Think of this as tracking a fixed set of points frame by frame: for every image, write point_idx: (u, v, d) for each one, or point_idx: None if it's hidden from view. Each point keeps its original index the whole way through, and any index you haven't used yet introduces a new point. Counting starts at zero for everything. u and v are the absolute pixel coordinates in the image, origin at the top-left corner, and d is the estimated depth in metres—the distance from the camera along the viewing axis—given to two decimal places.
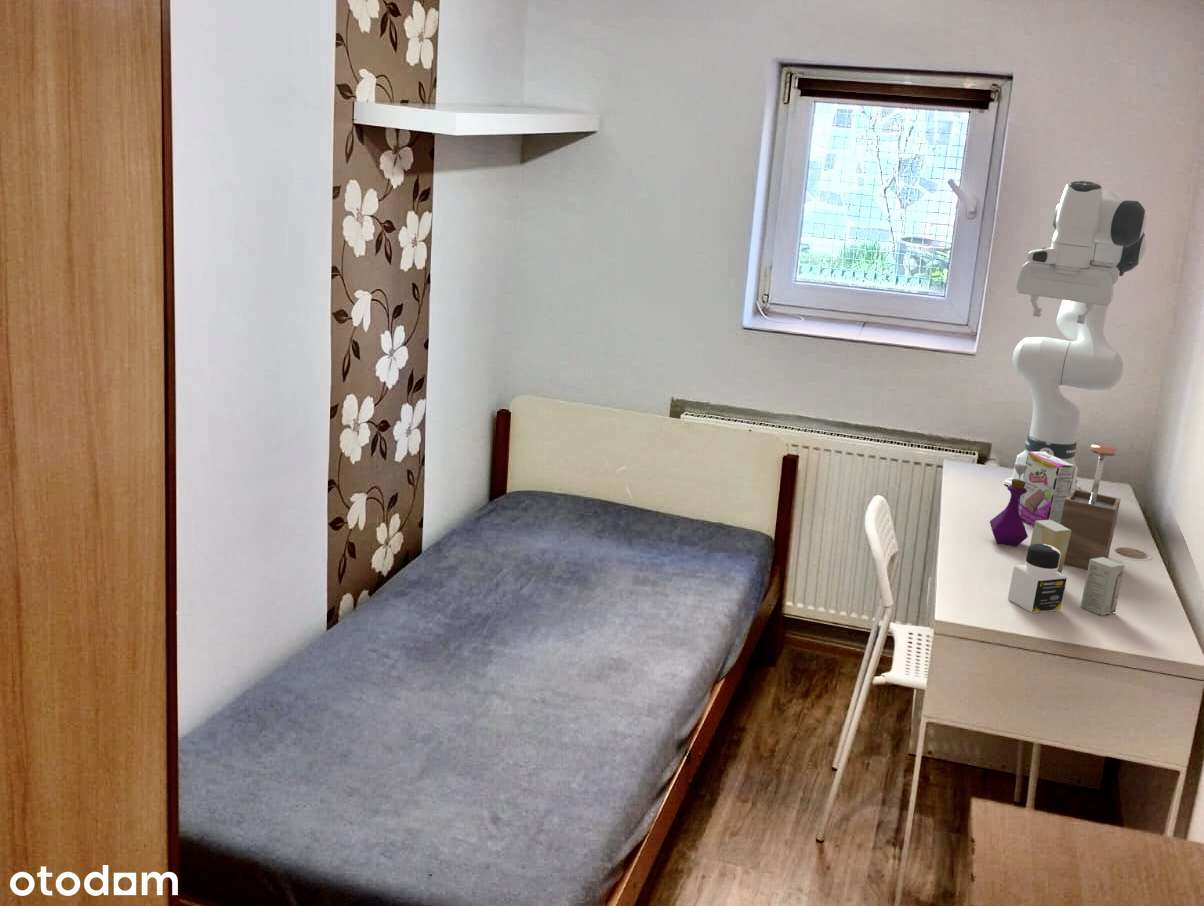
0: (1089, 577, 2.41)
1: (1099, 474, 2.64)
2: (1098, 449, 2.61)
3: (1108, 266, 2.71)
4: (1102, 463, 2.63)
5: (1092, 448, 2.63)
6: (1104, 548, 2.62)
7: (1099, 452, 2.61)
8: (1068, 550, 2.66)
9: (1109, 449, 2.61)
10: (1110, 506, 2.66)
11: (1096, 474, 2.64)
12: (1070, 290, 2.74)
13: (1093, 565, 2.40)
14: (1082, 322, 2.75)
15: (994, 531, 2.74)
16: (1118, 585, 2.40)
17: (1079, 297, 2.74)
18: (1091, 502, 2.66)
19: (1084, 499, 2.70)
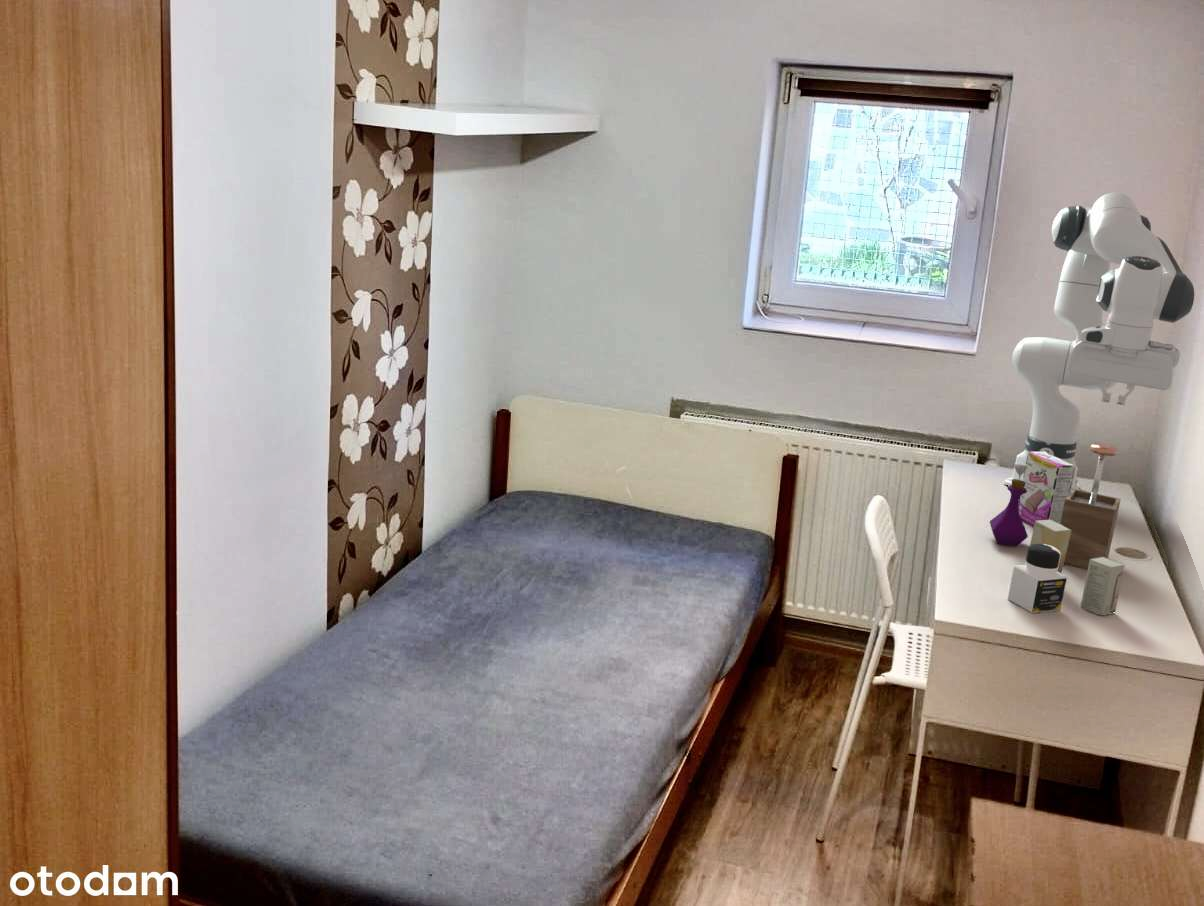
0: (1089, 577, 2.41)
1: (1099, 474, 2.64)
2: (1098, 449, 2.61)
3: (1168, 348, 2.53)
4: (1102, 463, 2.63)
5: (1092, 448, 2.63)
6: (1104, 548, 2.62)
7: (1099, 452, 2.61)
8: (1068, 550, 2.66)
9: (1109, 449, 2.61)
10: (1110, 506, 2.66)
11: (1096, 474, 2.64)
12: (1127, 372, 2.56)
13: (1093, 565, 2.40)
14: (1123, 403, 2.59)
15: (994, 531, 2.74)
16: (1118, 585, 2.40)
17: (1136, 380, 2.56)
18: (1091, 502, 2.66)
19: (1084, 499, 2.70)
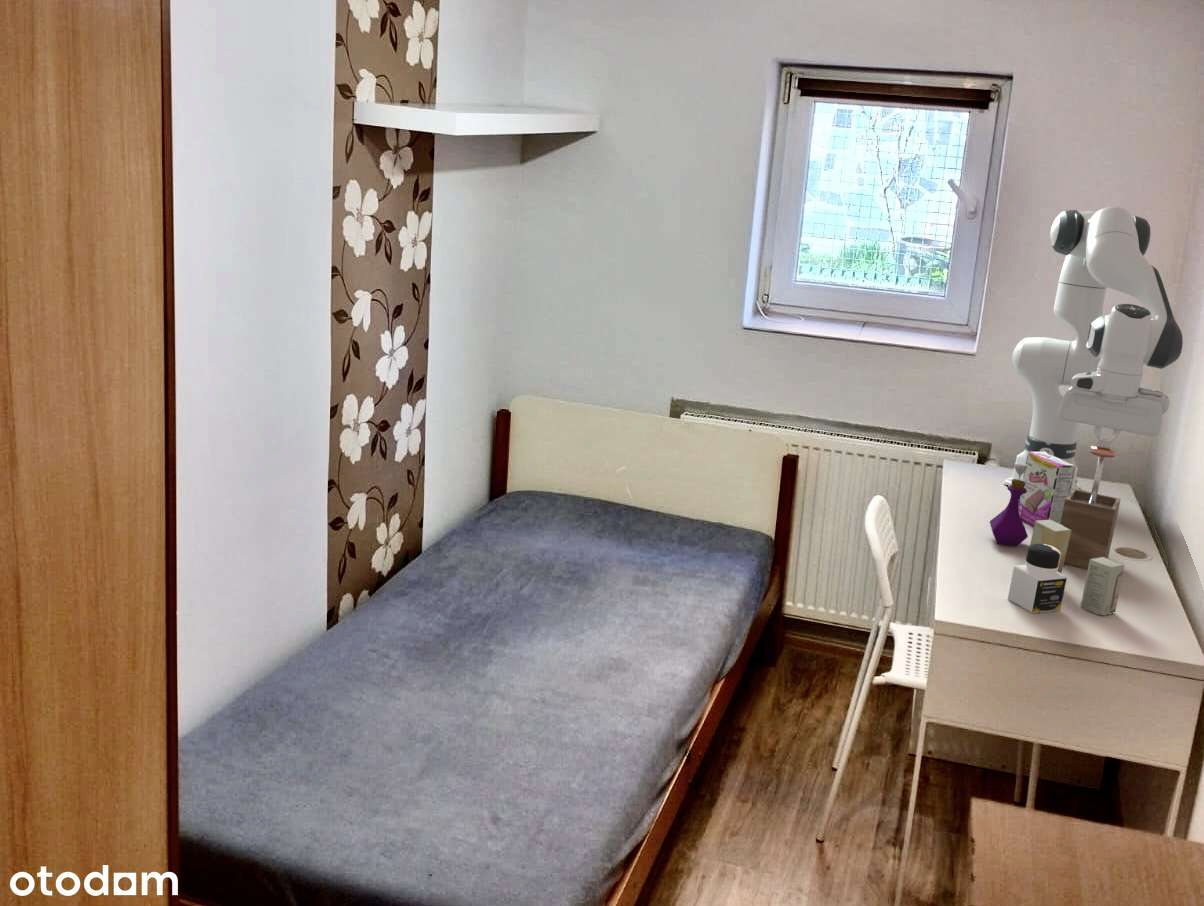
0: (1089, 577, 2.41)
1: (1099, 476, 2.64)
2: (1098, 451, 2.61)
3: (1158, 395, 2.55)
4: (1102, 465, 2.63)
5: (1092, 450, 2.63)
6: (1104, 548, 2.62)
7: (1099, 454, 2.61)
8: (1068, 550, 2.66)
9: (1109, 451, 2.61)
10: None
11: (1096, 476, 2.64)
12: (1117, 419, 2.59)
13: (1093, 565, 2.40)
14: (1109, 448, 2.62)
15: (994, 531, 2.74)
16: (1118, 585, 2.40)
17: (1127, 426, 2.58)
18: None
19: (1084, 501, 2.70)
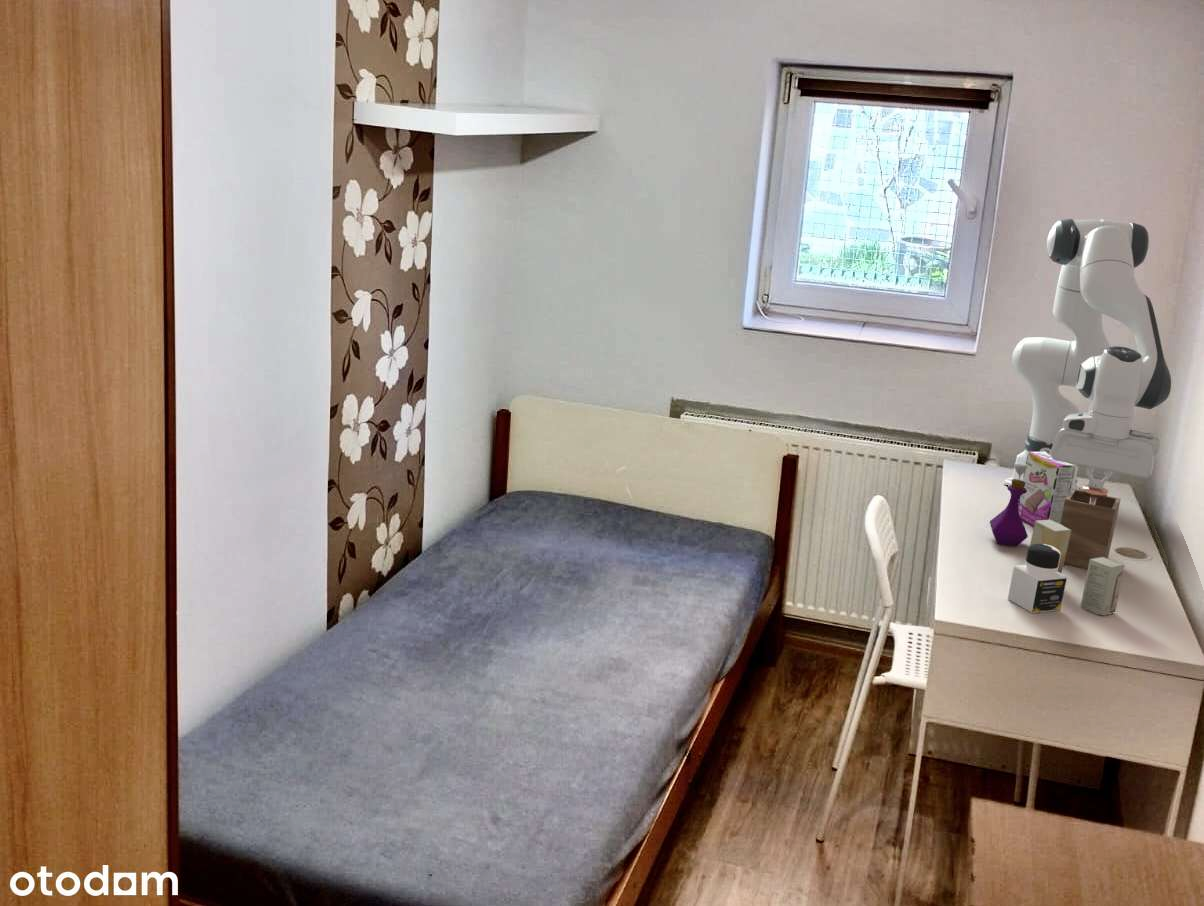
0: (1089, 577, 2.41)
1: None
2: (1089, 491, 2.64)
3: (1149, 437, 2.58)
4: (1093, 504, 2.66)
5: (1083, 490, 2.65)
6: (1104, 548, 2.62)
7: (1090, 494, 2.64)
8: (1068, 550, 2.66)
9: (1100, 491, 2.64)
10: None
11: None
12: (1108, 460, 2.61)
13: (1093, 565, 2.40)
14: (1100, 489, 2.64)
15: (994, 531, 2.74)
16: (1117, 585, 2.40)
17: (1118, 468, 2.61)
18: None
19: None
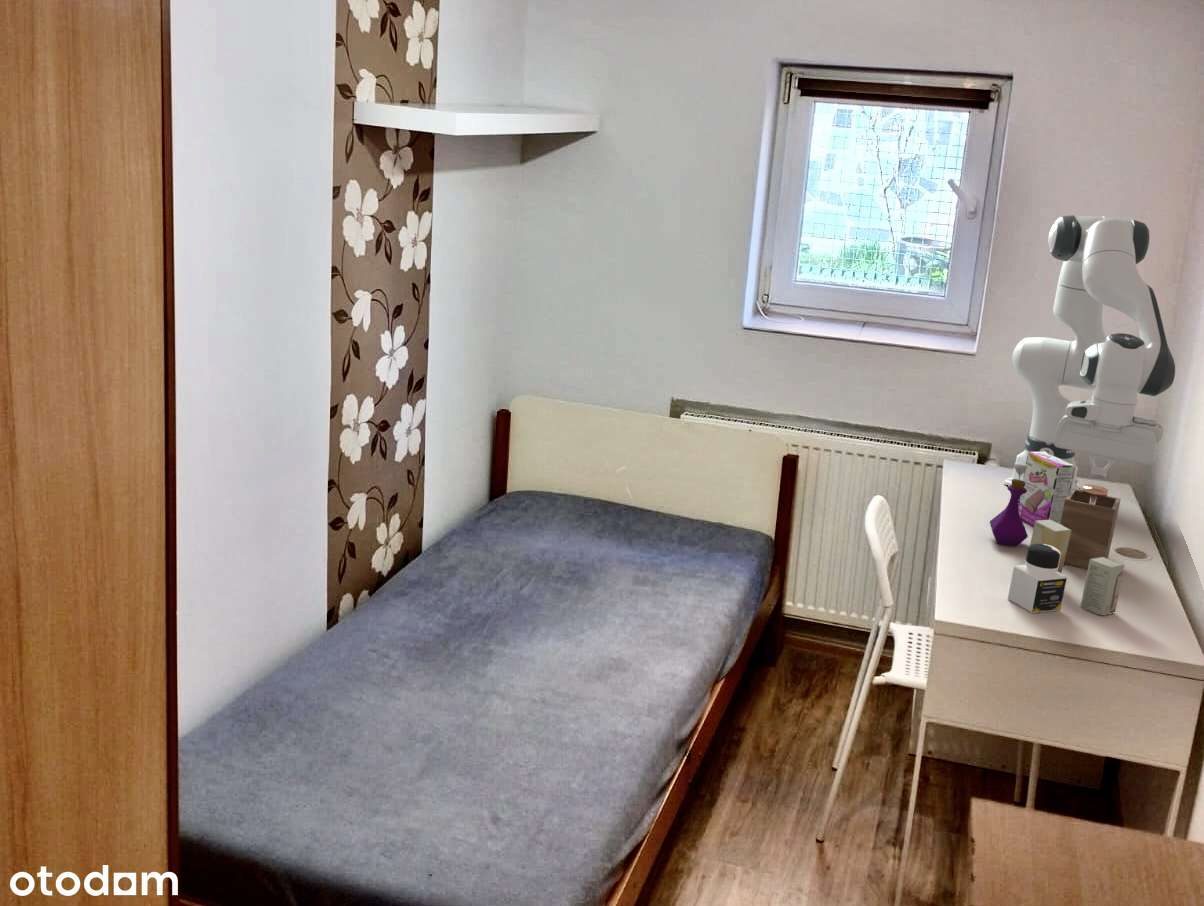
0: (1089, 577, 2.41)
1: None
2: (1089, 490, 2.64)
3: (1151, 424, 2.57)
4: (1093, 504, 2.66)
5: (1083, 489, 2.65)
6: (1104, 548, 2.62)
7: (1090, 493, 2.64)
8: (1068, 550, 2.66)
9: (1100, 490, 2.64)
10: None
11: None
12: (1111, 447, 2.61)
13: (1093, 565, 2.40)
14: (1103, 476, 2.64)
15: (994, 531, 2.74)
16: (1117, 585, 2.40)
17: (1121, 455, 2.60)
18: None
19: None
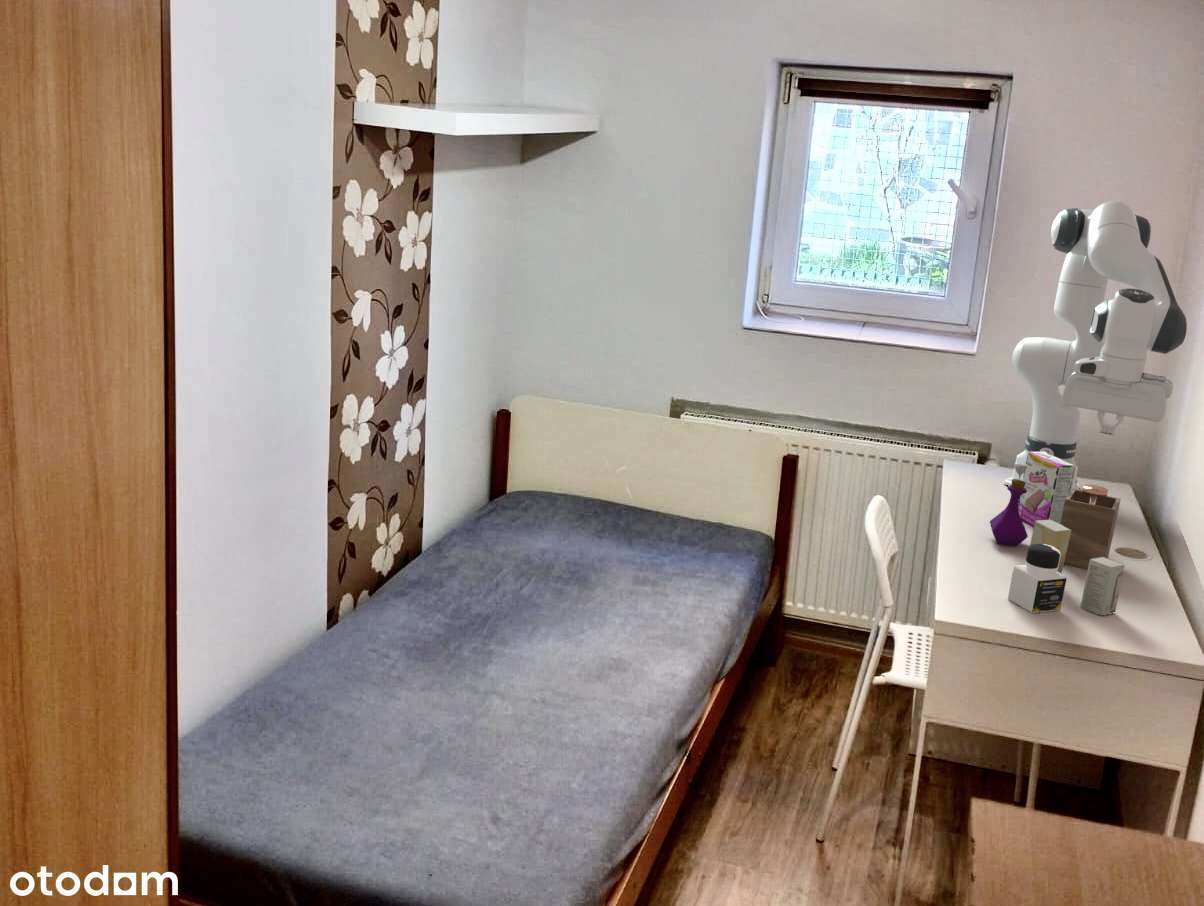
0: (1089, 577, 2.41)
1: None
2: (1089, 490, 2.64)
3: (1161, 380, 2.55)
4: (1093, 504, 2.66)
5: (1083, 489, 2.65)
6: (1104, 548, 2.62)
7: (1090, 493, 2.64)
8: (1068, 550, 2.66)
9: (1100, 490, 2.64)
10: None
11: None
12: (1120, 404, 2.58)
13: (1093, 565, 2.40)
14: (1112, 434, 2.61)
15: (994, 531, 2.74)
16: (1118, 585, 2.40)
17: (1130, 411, 2.57)
18: None
19: None
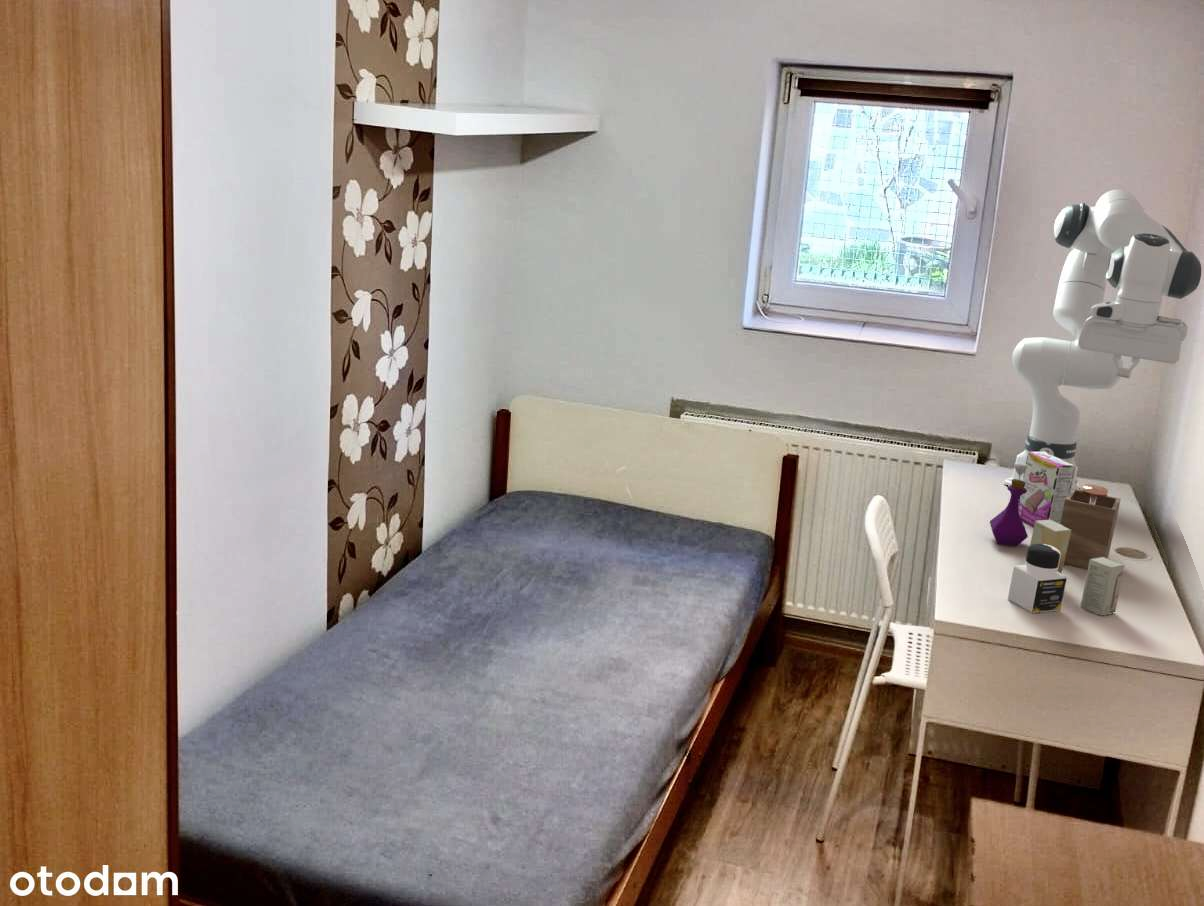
0: (1089, 577, 2.41)
1: None
2: (1089, 490, 2.64)
3: (1176, 323, 2.60)
4: (1093, 504, 2.66)
5: (1083, 489, 2.65)
6: (1104, 548, 2.62)
7: (1090, 493, 2.64)
8: (1068, 550, 2.66)
9: (1100, 490, 2.64)
10: None
11: None
12: (1136, 347, 2.64)
13: (1093, 565, 2.40)
14: (1128, 376, 2.66)
15: (994, 531, 2.74)
16: (1117, 585, 2.40)
17: (1145, 354, 2.63)
18: None
19: None
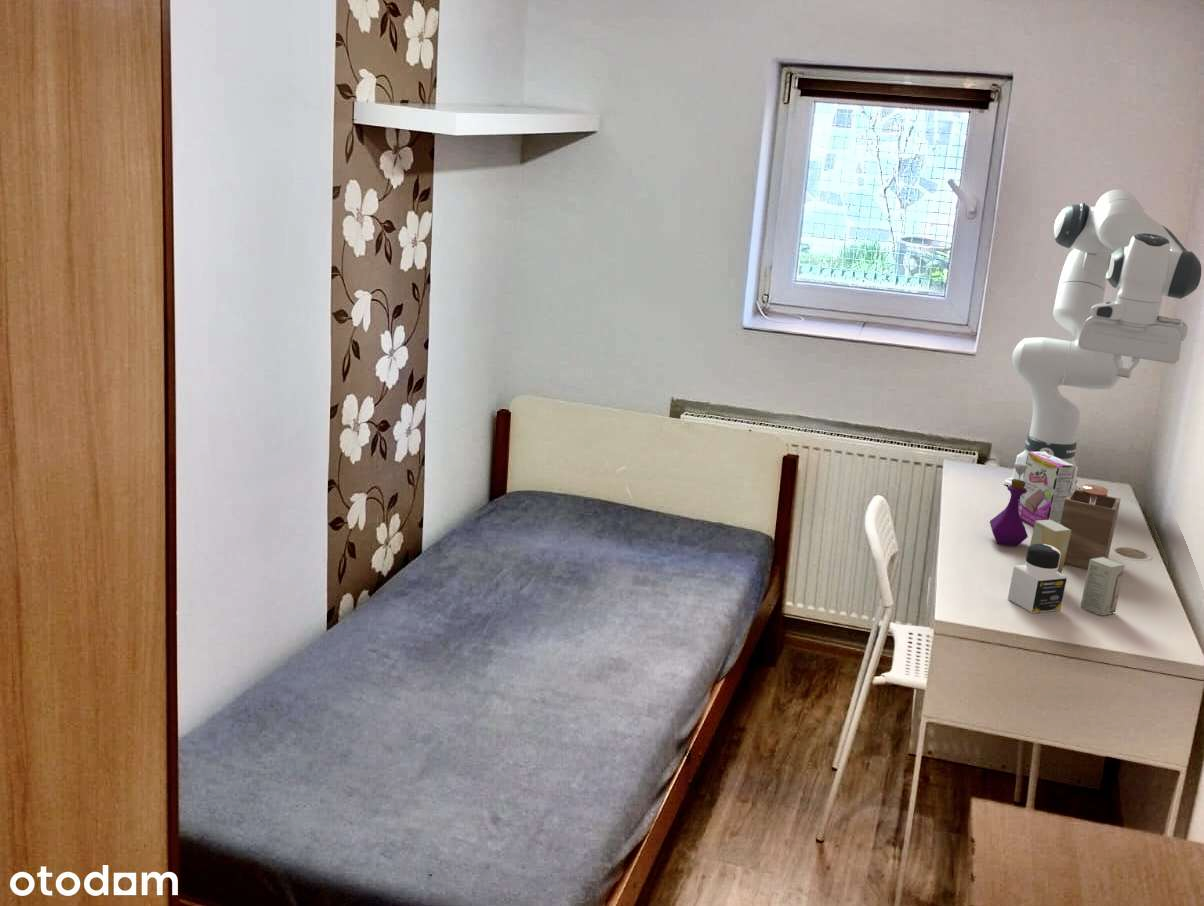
0: (1089, 577, 2.41)
1: None
2: (1089, 490, 2.64)
3: (1176, 322, 2.60)
4: (1093, 504, 2.66)
5: (1083, 489, 2.65)
6: (1104, 548, 2.62)
7: (1090, 493, 2.64)
8: (1068, 550, 2.66)
9: (1100, 490, 2.64)
10: None
11: None
12: (1136, 347, 2.64)
13: (1093, 565, 2.40)
14: (1128, 376, 2.66)
15: (994, 531, 2.74)
16: (1118, 585, 2.40)
17: (1145, 354, 2.63)
18: None
19: None
